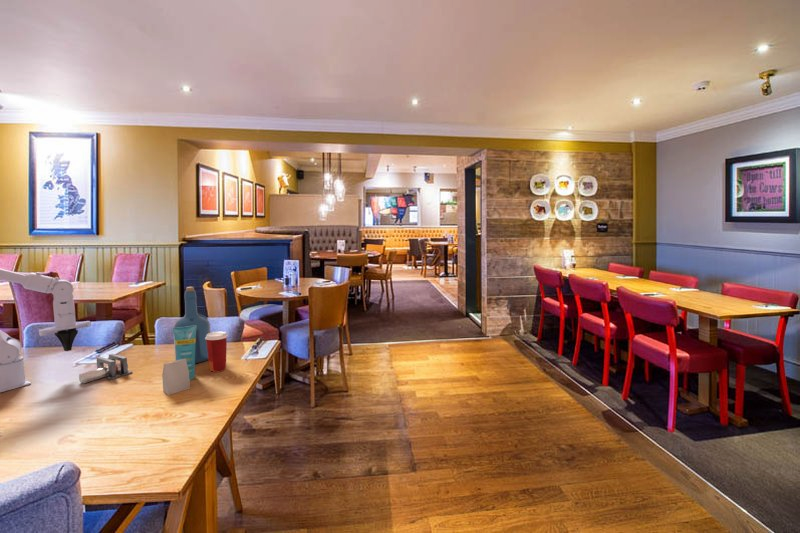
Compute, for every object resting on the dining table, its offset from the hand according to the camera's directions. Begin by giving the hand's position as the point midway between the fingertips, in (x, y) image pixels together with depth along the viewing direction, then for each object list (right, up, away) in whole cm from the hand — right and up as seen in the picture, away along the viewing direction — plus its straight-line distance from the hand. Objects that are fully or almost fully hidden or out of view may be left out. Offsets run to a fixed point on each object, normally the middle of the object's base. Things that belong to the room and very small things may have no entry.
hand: (67, 350), depth 141 cm
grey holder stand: (+13, -9, +1) cm, 16 cm away
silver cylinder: (+13, -9, 0) cm, 16 cm away
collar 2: (+15, -9, +5) cm, 18 cm away
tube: (+44, -10, -1) cm, 45 cm away
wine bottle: (+36, -8, +19) cm, 41 cm away
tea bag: (+46, -11, -11) cm, 48 cm away
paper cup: (+51, -9, +8) cm, 52 cm away
